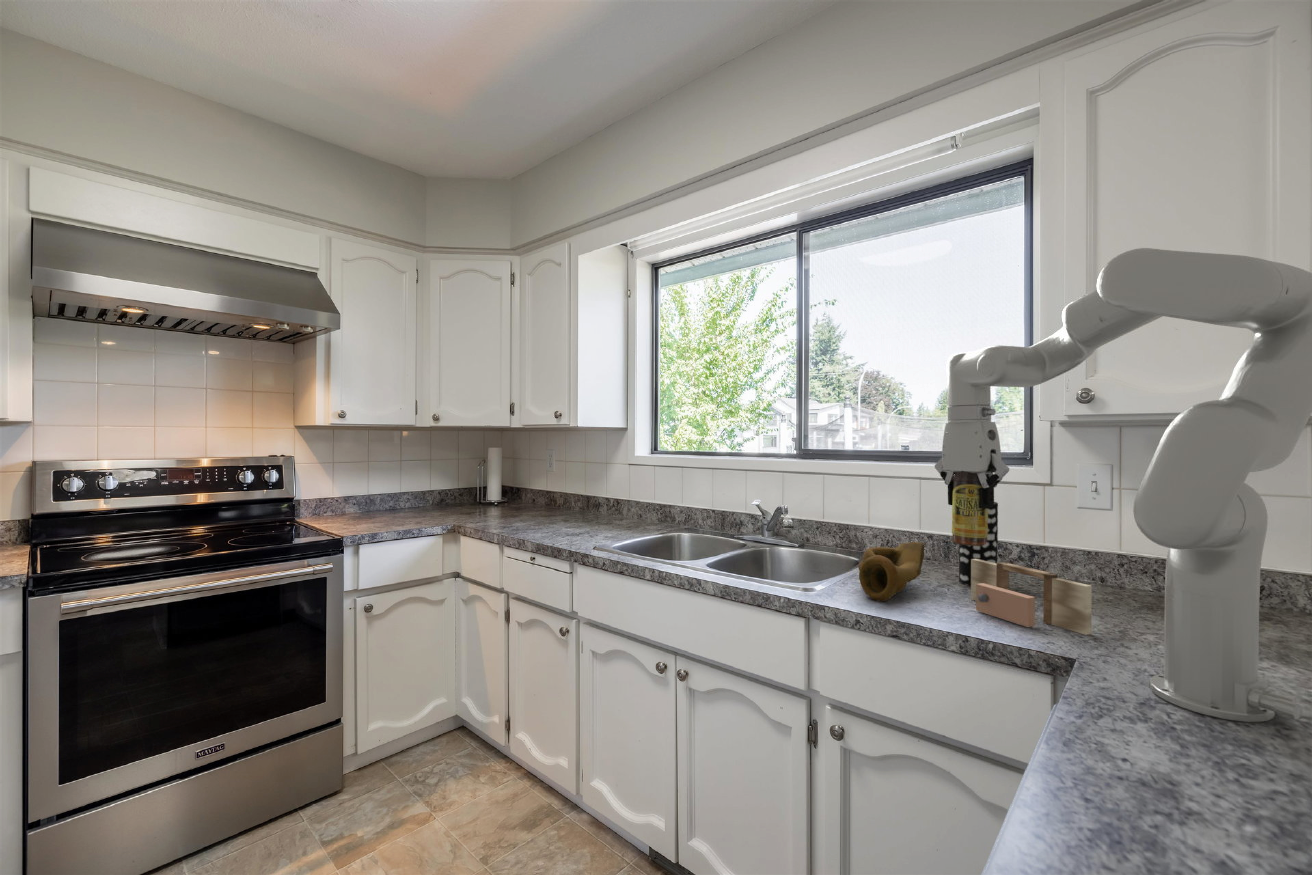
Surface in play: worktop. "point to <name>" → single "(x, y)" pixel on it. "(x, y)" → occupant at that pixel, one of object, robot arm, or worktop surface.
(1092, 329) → the robot arm
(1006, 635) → the worktop surface
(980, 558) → the spotted tube
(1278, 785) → the worktop surface
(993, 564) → the door frame
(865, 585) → the brown looped sculpture
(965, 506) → the sauce bottle
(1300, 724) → the worktop surface
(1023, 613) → the door
